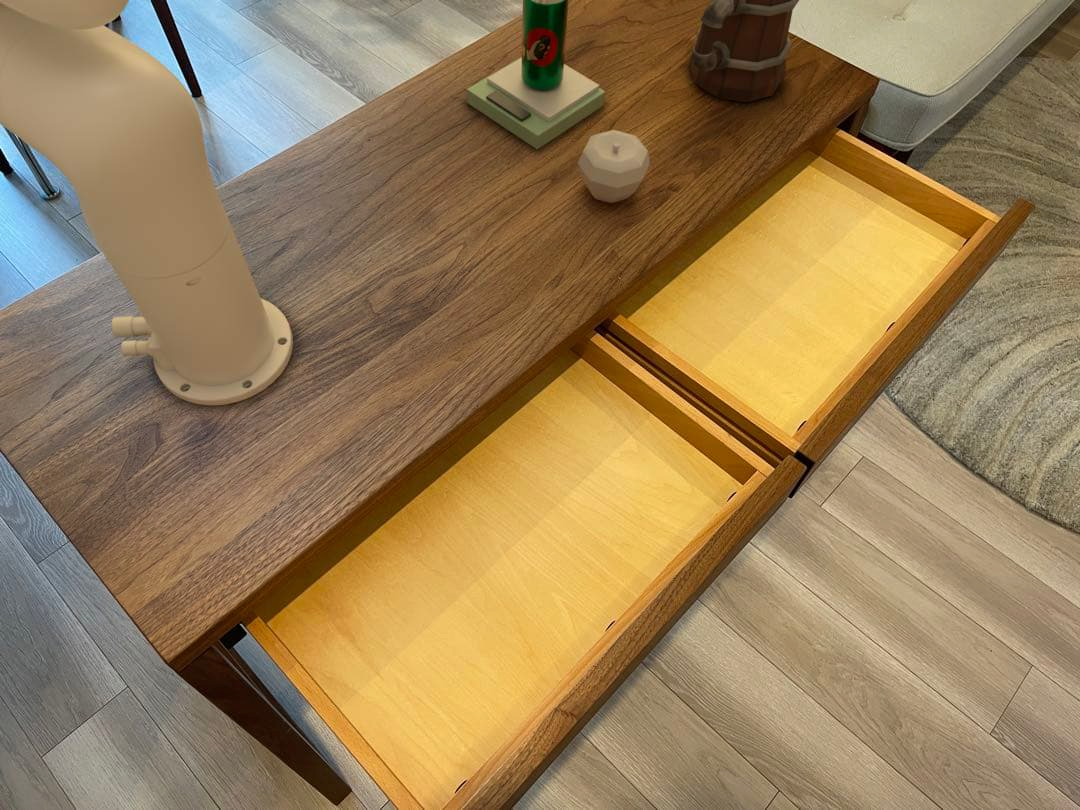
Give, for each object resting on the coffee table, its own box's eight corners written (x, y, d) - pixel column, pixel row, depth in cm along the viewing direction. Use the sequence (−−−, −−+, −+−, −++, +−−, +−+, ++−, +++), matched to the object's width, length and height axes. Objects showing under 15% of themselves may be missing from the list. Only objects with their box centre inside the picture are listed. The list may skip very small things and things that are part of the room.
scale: (537, 149, 92) (538, 131, 90) (467, 103, 96) (466, 84, 94) (603, 105, 97) (606, 87, 95) (534, 62, 101) (535, 44, 99)
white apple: (605, 158, 92) (612, 110, 86) (658, 191, 89) (668, 144, 83) (560, 192, 88) (564, 144, 83) (614, 227, 86) (621, 180, 80)
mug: (726, 37, 106) (756, -81, 93) (798, 78, 101) (840, -39, 89) (649, 83, 100) (669, -36, 87) (722, 130, 95) (755, 12, 83)
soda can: (570, 86, 95) (578, -12, 84) (534, 98, 93) (537, 0, 83) (549, 63, 97) (554, -34, 87) (513, 74, 95) (514, -24, 85)
